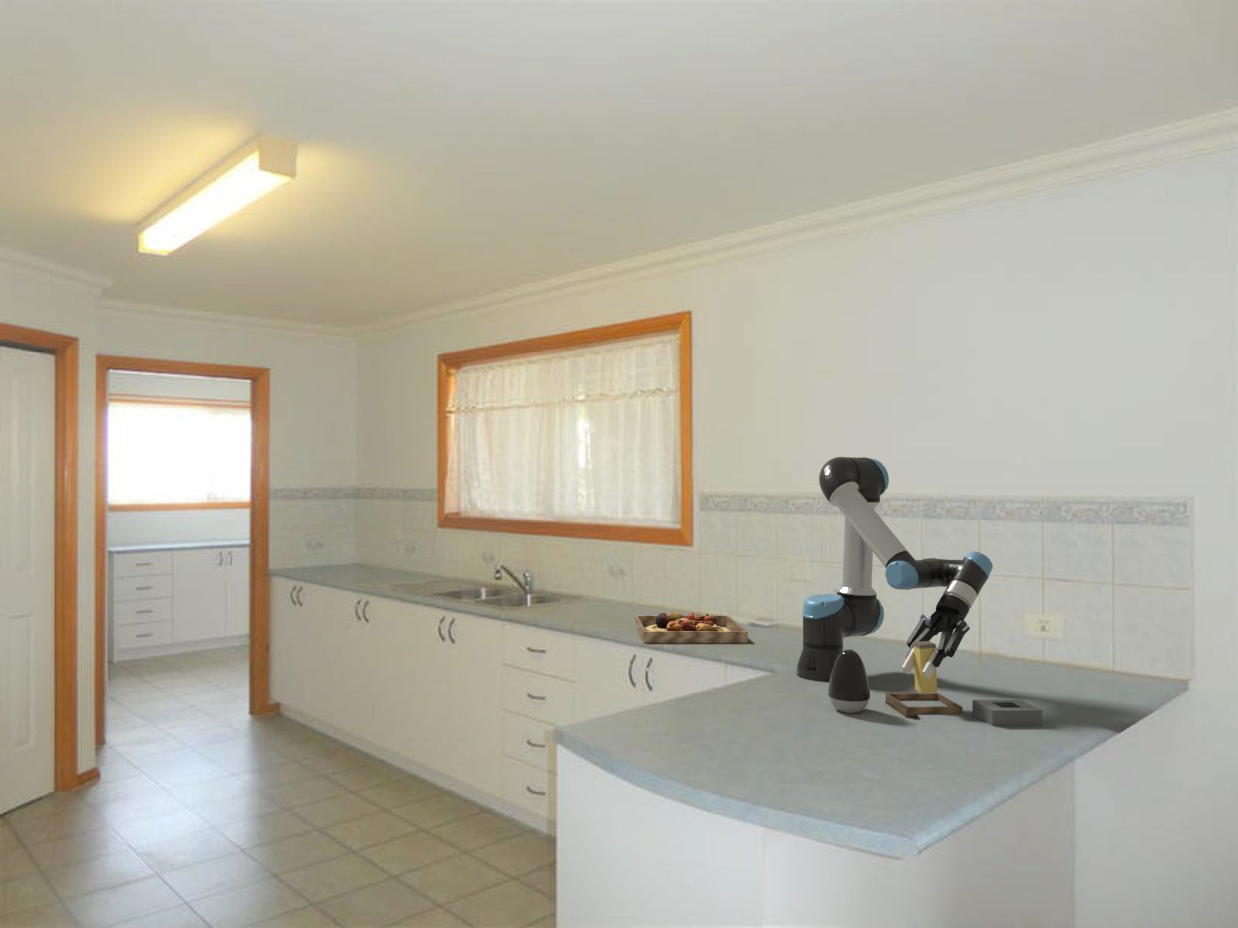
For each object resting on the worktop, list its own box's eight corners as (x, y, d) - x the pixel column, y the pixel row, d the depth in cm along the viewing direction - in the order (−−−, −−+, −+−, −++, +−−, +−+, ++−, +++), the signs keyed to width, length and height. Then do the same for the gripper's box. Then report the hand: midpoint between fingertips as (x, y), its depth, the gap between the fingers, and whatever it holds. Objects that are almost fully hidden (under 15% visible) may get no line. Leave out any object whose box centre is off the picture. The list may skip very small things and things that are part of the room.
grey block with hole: (992, 729, 204) (992, 710, 204) (972, 718, 214) (972, 699, 214) (1042, 729, 205) (1042, 710, 205) (1020, 717, 215) (1020, 699, 215)
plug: (921, 693, 219) (919, 644, 219) (914, 689, 223) (913, 641, 223) (937, 692, 219) (935, 644, 219) (930, 688, 223) (928, 640, 223)
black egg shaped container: (871, 707, 223) (871, 647, 224) (868, 717, 213) (869, 654, 214) (830, 703, 227) (830, 644, 227) (826, 713, 217) (826, 651, 217)
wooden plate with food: (719, 645, 306) (719, 621, 307) (633, 637, 318) (633, 614, 318) (739, 632, 336) (740, 611, 337) (660, 626, 348) (661, 605, 348)
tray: (906, 717, 214) (906, 707, 214) (885, 702, 228) (885, 693, 228) (962, 717, 215) (962, 706, 215) (938, 702, 229) (938, 692, 229)
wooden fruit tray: (643, 643, 308) (643, 631, 308) (634, 625, 345) (634, 615, 345) (747, 642, 310) (747, 631, 310) (728, 625, 347) (728, 615, 347)
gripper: (994, 616, 222) (954, 689, 213) (932, 607, 238) (892, 675, 228) (981, 596, 219) (940, 670, 210) (919, 589, 235) (878, 657, 225)
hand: (915, 672), depth 219 cm, fingers closed on plug, 5 cm apart
